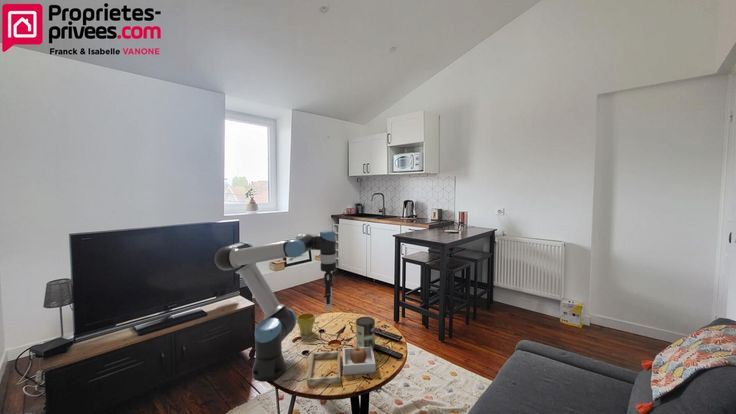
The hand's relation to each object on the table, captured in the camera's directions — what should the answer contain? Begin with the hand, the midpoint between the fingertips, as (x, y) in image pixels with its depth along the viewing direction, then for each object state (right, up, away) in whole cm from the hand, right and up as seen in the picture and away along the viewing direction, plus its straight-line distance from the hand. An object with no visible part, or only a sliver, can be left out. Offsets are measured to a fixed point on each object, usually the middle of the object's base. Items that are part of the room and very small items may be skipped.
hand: (328, 304), depth 146 cm
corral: (-1, -29, -5) cm, 30 cm away
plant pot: (-18, -27, +31) cm, 45 cm away
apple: (+15, -28, -2) cm, 32 cm away
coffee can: (+18, -28, +16) cm, 37 cm away
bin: (+15, -29, -2) cm, 32 cm away
